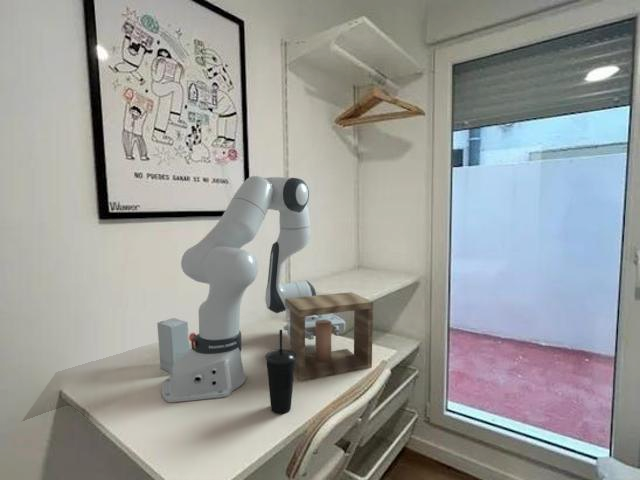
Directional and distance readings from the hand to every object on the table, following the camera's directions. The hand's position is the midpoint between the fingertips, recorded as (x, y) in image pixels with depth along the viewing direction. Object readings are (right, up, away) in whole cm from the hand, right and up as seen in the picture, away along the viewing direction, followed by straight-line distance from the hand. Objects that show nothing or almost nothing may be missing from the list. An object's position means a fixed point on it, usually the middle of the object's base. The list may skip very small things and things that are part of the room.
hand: (325, 335), depth 112 cm
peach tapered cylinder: (-1, -8, +1) cm, 8 cm away
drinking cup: (-11, -11, -26) cm, 30 cm away
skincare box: (-47, -9, -4) cm, 48 cm away
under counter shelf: (+1, -9, -1) cm, 9 cm away
